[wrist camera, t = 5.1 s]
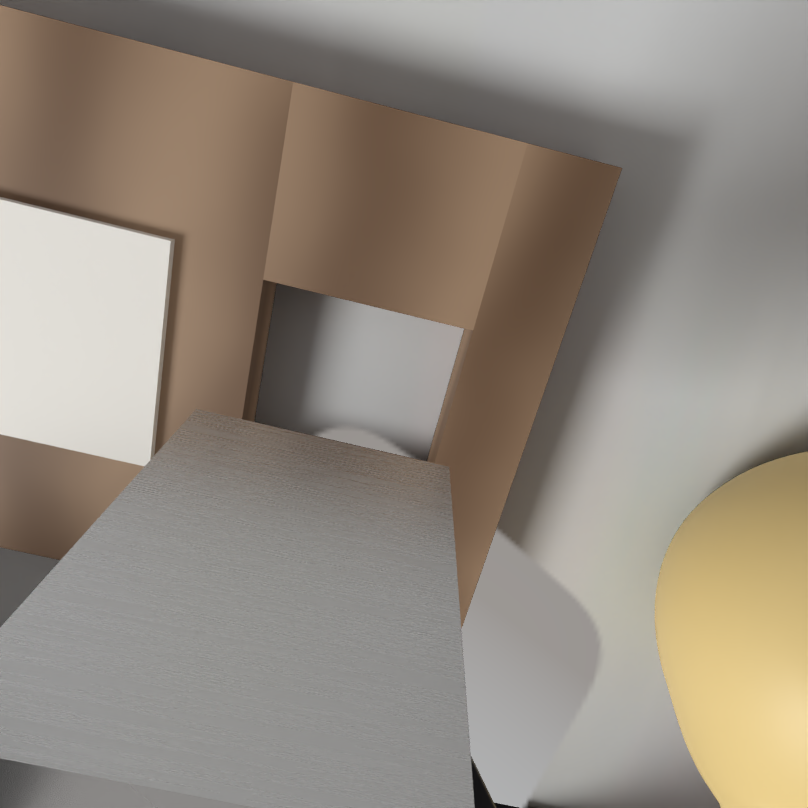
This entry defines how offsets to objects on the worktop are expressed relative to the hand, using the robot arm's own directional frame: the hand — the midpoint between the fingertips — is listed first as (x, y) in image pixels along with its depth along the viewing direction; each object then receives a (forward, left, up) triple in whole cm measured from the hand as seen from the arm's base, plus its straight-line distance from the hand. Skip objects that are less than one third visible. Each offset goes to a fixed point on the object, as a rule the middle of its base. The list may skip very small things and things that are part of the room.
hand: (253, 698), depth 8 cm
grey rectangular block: (0, 0, -4) cm, 4 cm away
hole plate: (+4, 0, -13) cm, 14 cm away
